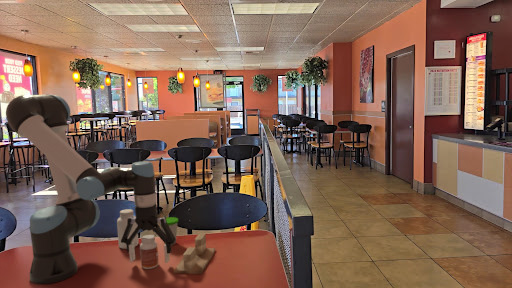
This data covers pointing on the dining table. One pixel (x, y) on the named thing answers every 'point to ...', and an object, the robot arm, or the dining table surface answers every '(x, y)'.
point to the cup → (171, 225)
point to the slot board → (195, 257)
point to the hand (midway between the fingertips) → (149, 261)
